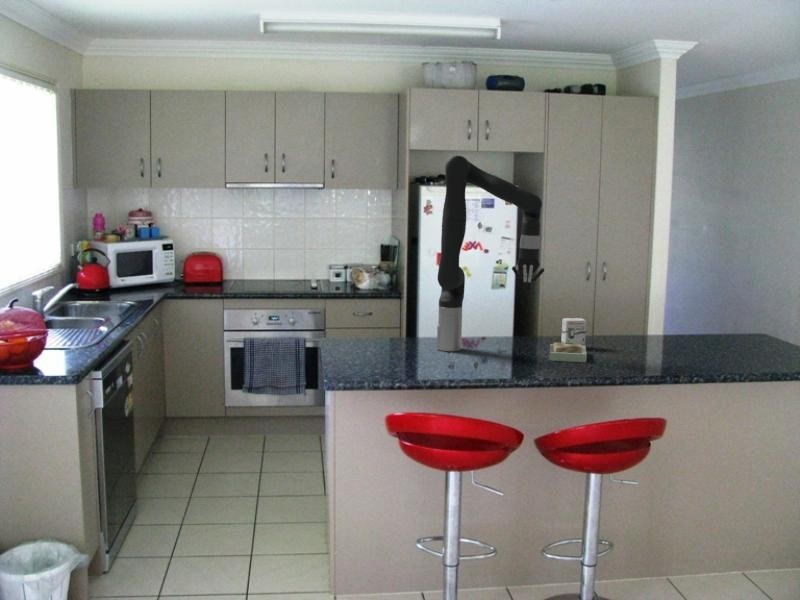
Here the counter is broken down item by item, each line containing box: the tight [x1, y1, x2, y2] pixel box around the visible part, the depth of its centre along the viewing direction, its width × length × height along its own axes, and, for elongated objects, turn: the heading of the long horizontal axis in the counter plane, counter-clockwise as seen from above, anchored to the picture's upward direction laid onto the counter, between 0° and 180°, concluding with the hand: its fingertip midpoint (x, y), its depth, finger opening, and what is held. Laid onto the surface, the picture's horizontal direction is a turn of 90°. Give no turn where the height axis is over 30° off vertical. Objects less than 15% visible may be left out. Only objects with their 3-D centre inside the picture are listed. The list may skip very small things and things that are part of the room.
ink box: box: [560, 317, 587, 347], centre depth 342 cm, size 9×5×12 cm, turn 100°
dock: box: [549, 343, 588, 363], centre depth 326 cm, size 14×16×3 cm
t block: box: [553, 341, 582, 354], centre depth 326 cm, size 10×10×4 cm
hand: (526, 291), depth 329 cm, fingers closed
